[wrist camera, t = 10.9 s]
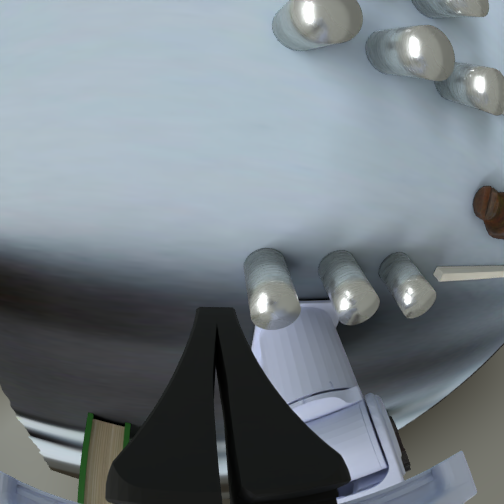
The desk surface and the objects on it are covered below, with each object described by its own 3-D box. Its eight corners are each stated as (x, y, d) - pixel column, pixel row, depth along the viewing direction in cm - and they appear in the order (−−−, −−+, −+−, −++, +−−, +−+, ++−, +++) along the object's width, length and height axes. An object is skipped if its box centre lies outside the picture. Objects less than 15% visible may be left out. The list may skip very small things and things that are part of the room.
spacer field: (400, 280, 25) (425, 316, 21) (241, 281, 23) (248, 330, 19) (467, 10, 10) (512, 12, 6) (284, -69, 8) (305, -104, 4)
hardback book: (88, 412, 35) (77, 541, 16) (130, 423, 38) (127, 553, 18) (93, 439, 44) (87, 535, 24) (125, 447, 46) (124, 543, 27)
